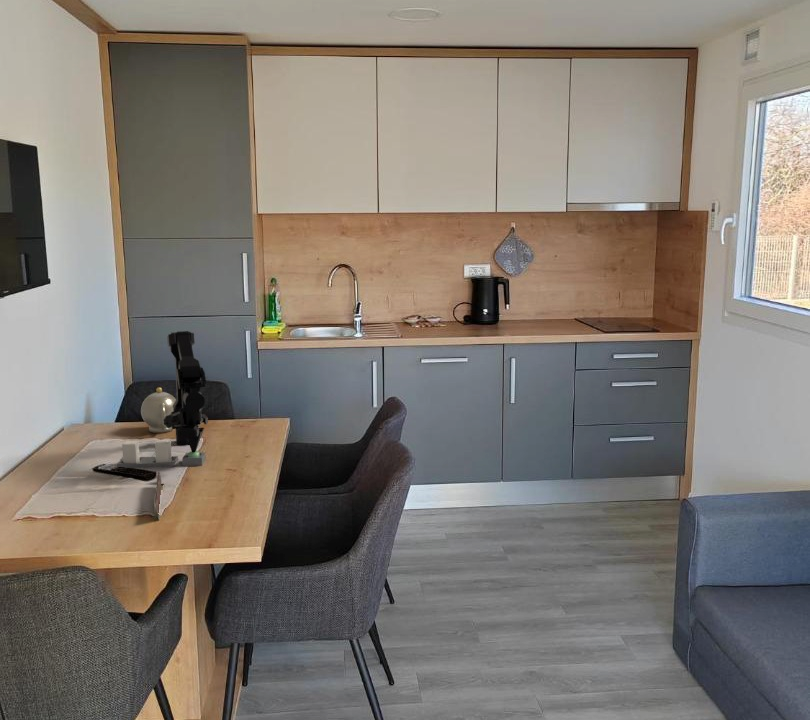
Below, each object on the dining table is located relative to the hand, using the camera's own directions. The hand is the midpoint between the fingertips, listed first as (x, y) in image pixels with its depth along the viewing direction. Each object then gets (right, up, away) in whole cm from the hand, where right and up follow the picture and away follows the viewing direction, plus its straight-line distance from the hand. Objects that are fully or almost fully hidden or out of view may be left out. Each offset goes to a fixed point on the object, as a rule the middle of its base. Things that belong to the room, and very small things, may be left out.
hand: (193, 452), depth 253 cm
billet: (-20, -4, 0) cm, 20 cm away
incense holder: (-1, -11, -31) cm, 33 cm away
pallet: (-15, -5, 0) cm, 15 cm away
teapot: (-23, +2, +43) cm, 49 cm away
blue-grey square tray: (-20, -3, +10) cm, 22 cm away
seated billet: (-10, -4, 0) cm, 10 cm away
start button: (0, -3, +1) cm, 3 cm away
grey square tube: (0, -5, +1) cm, 5 cm away
